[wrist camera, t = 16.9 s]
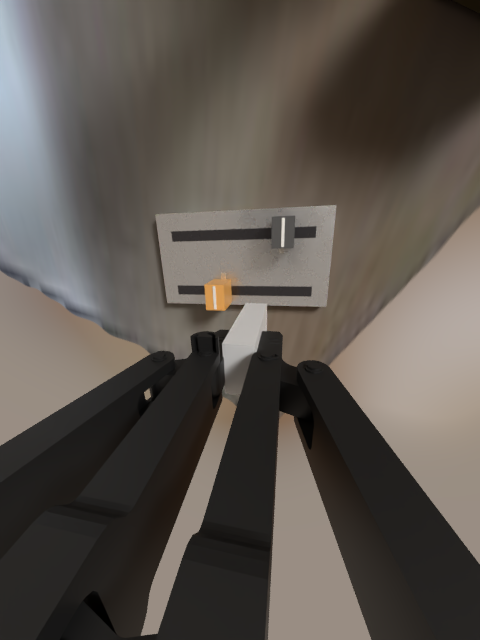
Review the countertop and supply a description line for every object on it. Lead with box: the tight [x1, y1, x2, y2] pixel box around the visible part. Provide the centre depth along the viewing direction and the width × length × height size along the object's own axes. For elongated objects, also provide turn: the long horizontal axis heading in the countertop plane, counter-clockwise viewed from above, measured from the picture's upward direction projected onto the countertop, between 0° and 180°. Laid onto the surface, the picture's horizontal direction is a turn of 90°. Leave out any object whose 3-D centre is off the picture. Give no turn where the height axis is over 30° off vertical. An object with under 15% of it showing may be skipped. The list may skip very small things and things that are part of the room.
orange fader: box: [204, 279, 232, 311], centre depth 38 cm, size 4×3×5 cm
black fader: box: [271, 216, 295, 249], centre depth 33 cm, size 4×3×5 cm
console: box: [155, 205, 336, 307], centre depth 39 cm, size 15×28×2 cm, turn 91°
